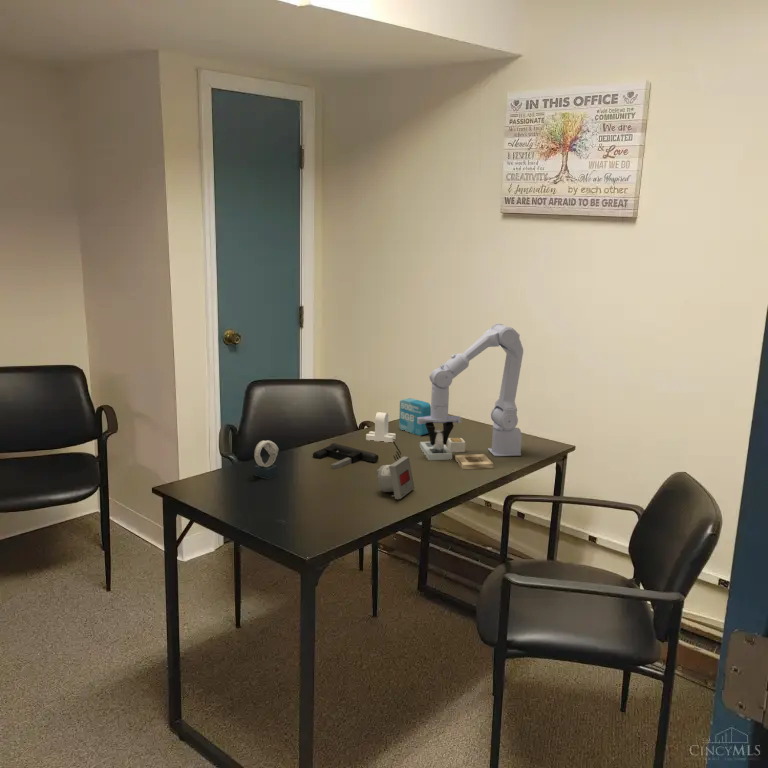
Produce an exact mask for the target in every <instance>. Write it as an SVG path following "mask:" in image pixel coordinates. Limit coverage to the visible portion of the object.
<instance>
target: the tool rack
mask: <svg viewBox="0 0 768 768" xmlns="http://www.w3.org/2000/svg"><path fill="white" fill-rule="evenodd" d="M419 448H421V449H420V450H421V451H422V453H423V452H424V453H423V454H424V455H426V456H425V457H426V458H428V459H427V460H428V461H442V460H443V461H448V460H449V459H450V460H451V459H452V460H453V452H451V451H450V450H449V449H448V448H447V444H446V445H444V453H433V445H431V443H430V441H420V442H419Z"/></svg>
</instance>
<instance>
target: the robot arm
mask: <svg viewBox="0 0 768 768" xmlns="http://www.w3.org/2000/svg"><path fill="white" fill-rule="evenodd" d="M492 347H493V348H495V347H501V349H502V350H503V351H504V352H505V354H506V355H505V360H504V361H505V362H504V366H503V367H504V368H503V373H502V378H501V379H502V380H501V384H500V385H501V386H500V391H499V396H498V399H497V400H496V401H495V403H494V404H495V405H494V407H493V408H492V410H491V413H490V419H491V420H492V421H493V425H492V436H491V437H492V439H491V441H492V442H491V447H489V448H487V451H489V452H490V453H491V454H492V455H493V456H494V457H515V456H522V453H521V452H522V450H521V449H522V432H521V428H520V427H517V425H518V423H519V418H518V415H517V414H518V413H517V412H518V407H517V405H516V395H517V390H518V384H519V379H520V373H521V368H522V361H523V355H524V347H523V345H522V342H521V339H520V333H519V332H517V330H515V329H514V328H513V327H510V326H507V325H504V324H502V323H495V324H493V325H492V327H491V328H488V329H487V330H485V332H484V333H483V334H482V335H481V336H480V337H478V339H477V340H476V341H475V342H474V343H472V344H470V346H469V347H467V349H466V350H464V351H463V352H462V353H460V352H459V353H458V352H457V353H455V354H454V353H453V354H452V355H450V357H451V358H449V359H448V360H447V361H446V362H444V363H443V364H442V363H441V364H440V365H439V367H437V368H434V369H433V370H432V371H431V373H430V375H429V380H430V382H431V400H430V405H431V416H426V417H417V423H418V424H425V425H426V428H427V430H428V437H429V442H430V443H431V445H434V431H435V430H436V427H435V425H434V424H442V428H443V429H442V431H444V445H446V446H447V441H448V438H450V437H449V436H450V434H451V432H452V431H453V429H454V426H455V425H454V424H456V423H457V424H461V423H462V417H461V416H460V415H457V416H456V415H449V400H450V399H449V398H450V386H451V385H452V383H453V380H454V379H455V378H456V377H458V375H460V374H461V373H462V372H464V371H465V370H467V368H468V367H469V364H470V361H471V360H473V359H474V358H475V357H477V356H479V354H481V353H482V352H484V351H485V350H486V349H488V348H492Z"/></svg>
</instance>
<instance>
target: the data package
mask: <svg viewBox="0 0 768 768" xmlns="http://www.w3.org/2000/svg"><path fill="white" fill-rule="evenodd" d="M426 416H431V403H430V402H428V401H423V400H419V399H415V398H410V397H409V398H405V399H401V400H400V401H399V416H398V417H399V418H398V419H399V420H398V421H399V422H398V424H399V426H398V427H399V430H400V431H402V430H405V431H408V432H410V433H409V434H412V433H414V434H413V435H415V434H416V435H415V436H418V435H420V436H419V437H421V436H425V435H427V434H428V435H429V433H428V430H427V428H426V425H425V424H418V423H417V417H426ZM405 431H404V432H405ZM408 432H407V433H408Z"/></svg>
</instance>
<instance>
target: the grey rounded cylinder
mask: <svg viewBox="0 0 768 768" xmlns="http://www.w3.org/2000/svg"><path fill="white" fill-rule="evenodd" d="M433 453H444V431H443V429H442V430H441V429H435V431H434V445H433Z"/></svg>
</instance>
